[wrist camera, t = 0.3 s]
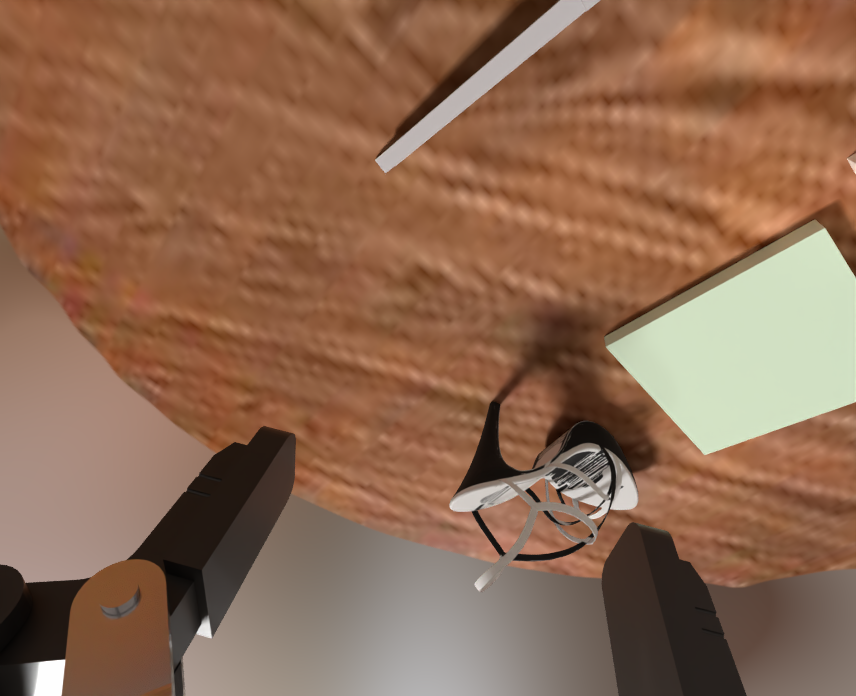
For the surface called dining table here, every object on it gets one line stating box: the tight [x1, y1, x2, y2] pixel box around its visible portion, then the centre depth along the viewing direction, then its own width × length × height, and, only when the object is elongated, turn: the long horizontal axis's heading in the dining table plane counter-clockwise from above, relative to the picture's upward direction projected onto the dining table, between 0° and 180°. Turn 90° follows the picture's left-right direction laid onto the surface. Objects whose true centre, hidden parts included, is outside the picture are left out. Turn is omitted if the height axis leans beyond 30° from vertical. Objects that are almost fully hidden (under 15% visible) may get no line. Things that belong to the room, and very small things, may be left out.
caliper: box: [375, 0, 600, 173], centre depth 21 cm, size 20×1×6 cm, turn 130°
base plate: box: [604, 219, 856, 455], centre depth 31 cm, size 13×13×1 cm
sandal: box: [450, 402, 638, 592], centre depth 34 cm, size 15×9×15 cm, turn 40°
